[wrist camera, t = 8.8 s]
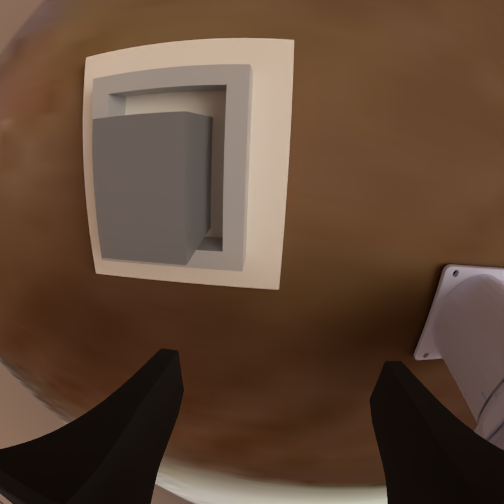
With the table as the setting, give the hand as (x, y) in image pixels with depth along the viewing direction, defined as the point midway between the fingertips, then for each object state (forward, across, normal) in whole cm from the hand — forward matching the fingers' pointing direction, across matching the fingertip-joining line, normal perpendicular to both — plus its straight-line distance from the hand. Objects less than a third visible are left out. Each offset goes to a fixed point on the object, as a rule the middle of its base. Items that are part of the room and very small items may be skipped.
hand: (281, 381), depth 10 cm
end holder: (+9, +6, -6) cm, 13 cm away
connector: (+8, +6, -6) cm, 12 cm away
